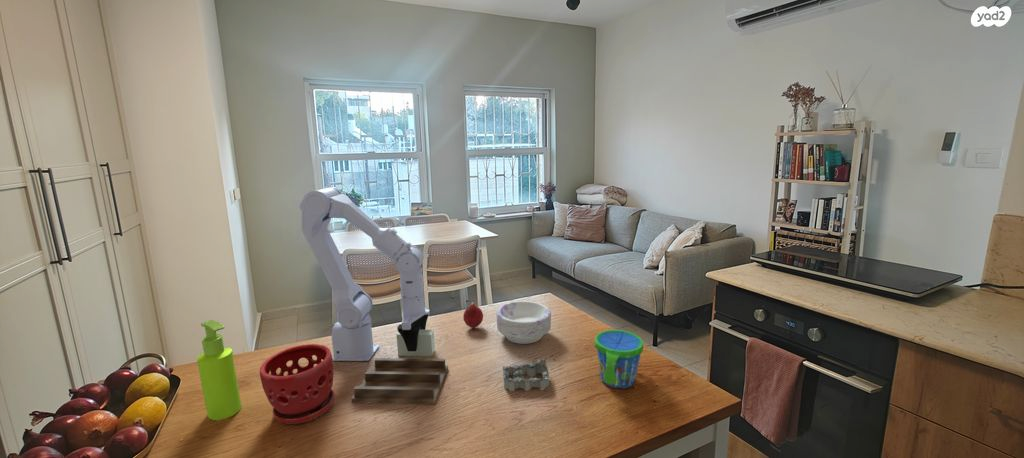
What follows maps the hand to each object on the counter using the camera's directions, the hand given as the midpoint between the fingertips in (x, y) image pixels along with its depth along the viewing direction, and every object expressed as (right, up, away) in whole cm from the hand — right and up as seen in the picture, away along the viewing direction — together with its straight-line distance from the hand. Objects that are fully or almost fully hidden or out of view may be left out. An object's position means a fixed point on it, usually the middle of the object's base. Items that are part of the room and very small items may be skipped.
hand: (416, 343), depth 111 cm
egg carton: (+28, -6, -14) cm, 32 cm away
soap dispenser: (-34, -8, -23) cm, 42 cm away
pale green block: (0, -3, +1) cm, 3 cm away
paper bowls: (+28, -1, +9) cm, 30 cm away
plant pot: (-18, -8, -23) cm, 30 cm away
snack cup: (+49, -5, -14) cm, 51 cm away
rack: (0, -6, -14) cm, 15 cm away
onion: (+14, 0, +14) cm, 20 cm away
